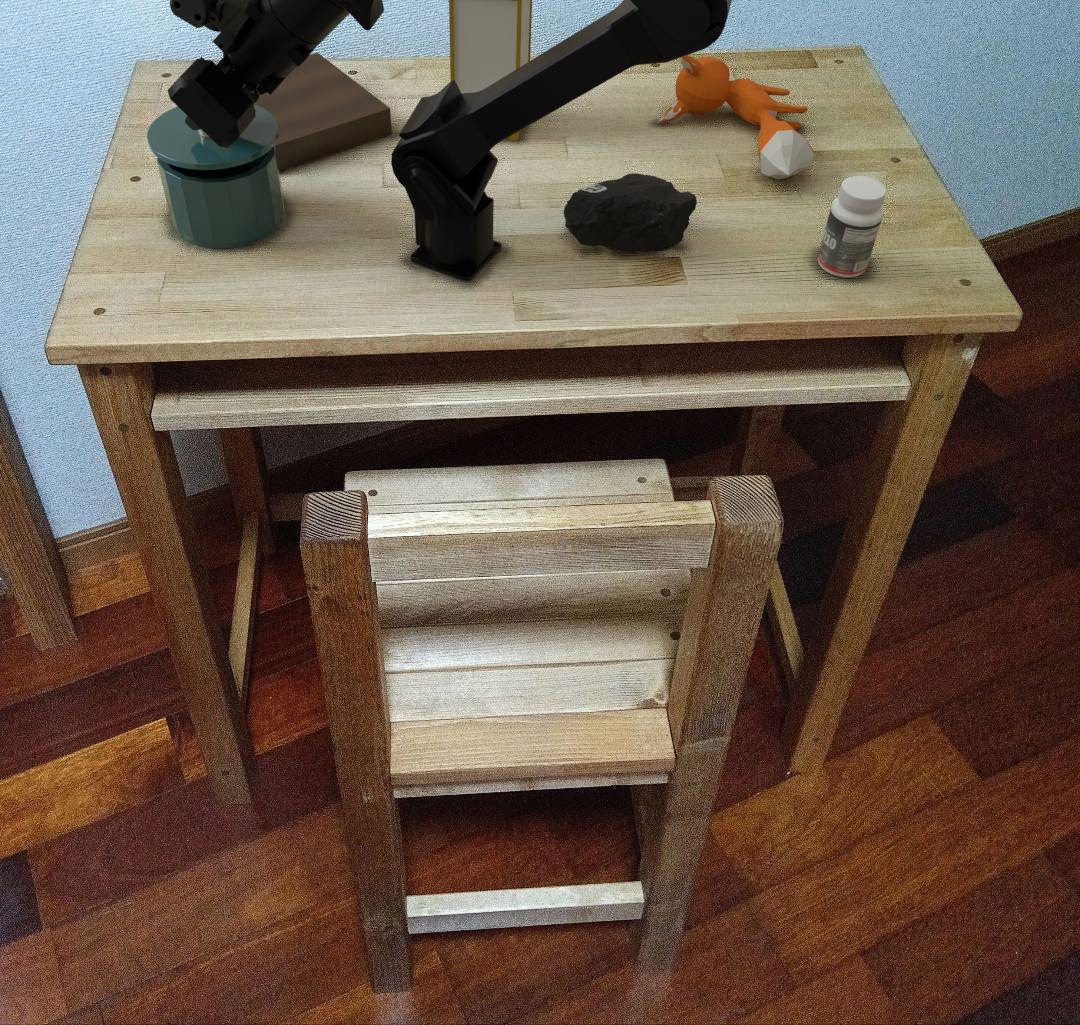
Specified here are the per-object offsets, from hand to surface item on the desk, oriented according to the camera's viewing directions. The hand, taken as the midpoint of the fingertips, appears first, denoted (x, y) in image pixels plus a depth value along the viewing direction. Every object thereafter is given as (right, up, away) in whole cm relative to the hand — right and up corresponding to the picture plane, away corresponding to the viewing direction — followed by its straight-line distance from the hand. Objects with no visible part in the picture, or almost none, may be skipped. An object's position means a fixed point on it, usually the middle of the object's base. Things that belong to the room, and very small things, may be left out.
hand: (196, 117), depth 103 cm
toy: (+53, +4, +20) cm, 57 cm away
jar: (+1, -7, +7) cm, 10 cm away
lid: (+1, -1, +1) cm, 2 cm away
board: (+5, +6, +20) cm, 21 cm away
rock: (+39, -8, +8) cm, 41 cm away
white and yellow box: (+25, +5, +20) cm, 33 cm away
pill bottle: (+60, -12, +6) cm, 61 cm away
